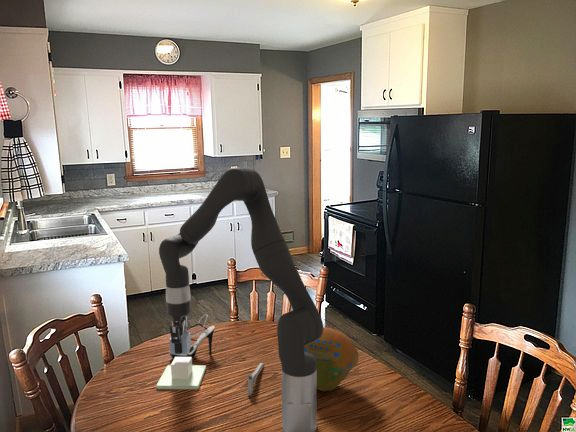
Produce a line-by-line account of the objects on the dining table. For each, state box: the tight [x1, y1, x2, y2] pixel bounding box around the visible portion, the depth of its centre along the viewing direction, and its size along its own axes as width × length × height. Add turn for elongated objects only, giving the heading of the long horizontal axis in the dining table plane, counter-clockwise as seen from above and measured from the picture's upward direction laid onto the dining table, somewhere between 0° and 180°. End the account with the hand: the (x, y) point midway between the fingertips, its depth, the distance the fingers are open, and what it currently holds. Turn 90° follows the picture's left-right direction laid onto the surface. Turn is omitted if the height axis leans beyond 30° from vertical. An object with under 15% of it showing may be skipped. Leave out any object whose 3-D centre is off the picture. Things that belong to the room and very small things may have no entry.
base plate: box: [155, 364, 207, 390], centre depth 157 cm, size 13×13×1 cm
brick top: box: [168, 331, 192, 355], centre depth 155 cm, size 5×5×5 cm
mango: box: [304, 326, 359, 392], centre depth 150 cm, size 20×16×20 cm
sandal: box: [168, 314, 216, 361], centre depth 171 cm, size 15×9×15 cm, turn 82°
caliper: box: [247, 362, 265, 397], centre depth 156 cm, size 20×1×6 cm, turn 172°
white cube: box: [170, 357, 193, 380], centre depth 157 cm, size 5×5×5 cm
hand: (180, 348), depth 156 cm, fingers closed on brick top, 5 cm apart
